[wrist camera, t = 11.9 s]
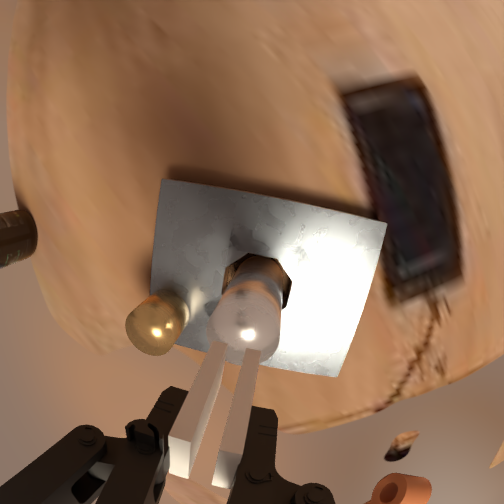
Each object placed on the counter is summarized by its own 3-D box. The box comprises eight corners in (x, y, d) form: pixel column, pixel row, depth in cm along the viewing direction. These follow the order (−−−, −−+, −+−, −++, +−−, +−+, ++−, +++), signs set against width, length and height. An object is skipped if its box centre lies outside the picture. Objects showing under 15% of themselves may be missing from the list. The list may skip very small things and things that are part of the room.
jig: (155, 324, 31) (126, 357, 24) (169, 178, 27) (134, 178, 20) (334, 363, 29) (343, 405, 22) (378, 220, 25) (407, 232, 19)
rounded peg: (232, 295, 29) (202, 356, 18) (240, 251, 28) (210, 294, 17) (277, 305, 28) (271, 372, 18) (287, 261, 27) (287, 310, 17)
